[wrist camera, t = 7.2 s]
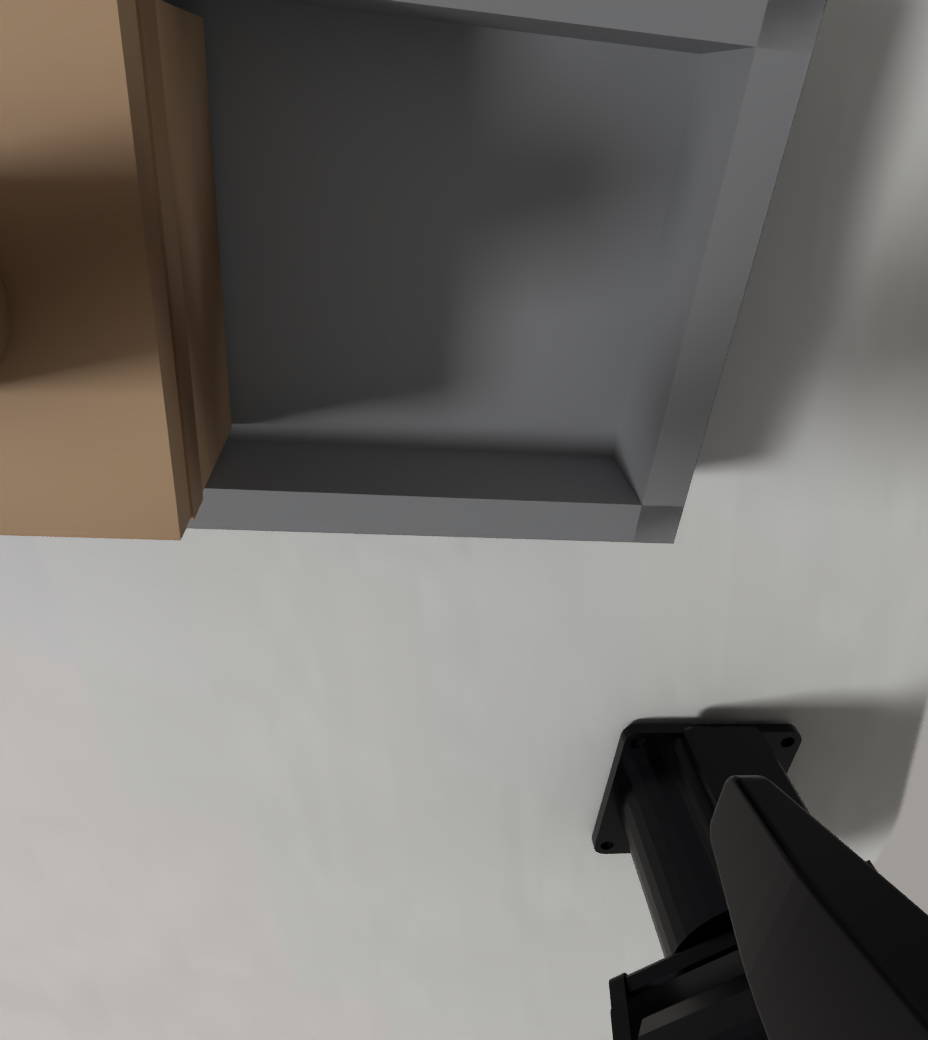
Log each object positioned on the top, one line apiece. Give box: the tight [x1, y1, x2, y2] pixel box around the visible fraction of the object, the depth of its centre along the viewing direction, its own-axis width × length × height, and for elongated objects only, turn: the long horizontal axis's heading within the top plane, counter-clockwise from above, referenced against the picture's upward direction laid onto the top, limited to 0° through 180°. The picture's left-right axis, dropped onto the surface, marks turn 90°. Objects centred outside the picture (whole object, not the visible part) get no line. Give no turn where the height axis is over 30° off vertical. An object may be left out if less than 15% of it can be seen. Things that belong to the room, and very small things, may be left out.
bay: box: [162, 0, 827, 544], centre depth 15 cm, size 11×20×4 cm, turn 84°
